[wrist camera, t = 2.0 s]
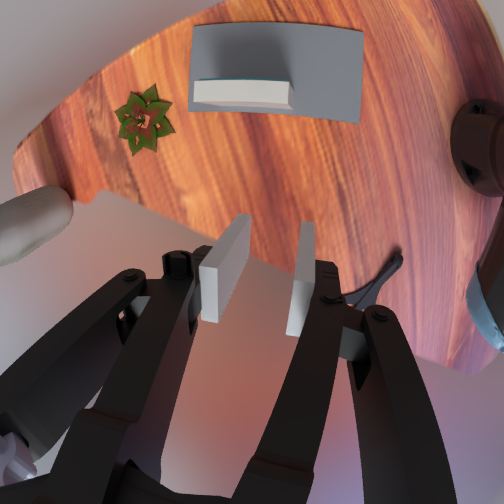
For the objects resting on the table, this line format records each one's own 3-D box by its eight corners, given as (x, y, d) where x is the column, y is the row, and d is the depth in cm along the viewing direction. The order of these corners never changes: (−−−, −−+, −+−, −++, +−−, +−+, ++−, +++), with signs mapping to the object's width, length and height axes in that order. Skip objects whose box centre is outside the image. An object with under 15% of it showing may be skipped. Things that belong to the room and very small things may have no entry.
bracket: (427, 270, 41) (432, 279, 39) (377, 331, 48) (379, 341, 46) (362, 229, 41) (365, 235, 38) (313, 299, 48) (312, 309, 45)
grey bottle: (50, 214, 51) (-46, 272, 26) (54, 172, 46) (-56, 222, 22) (78, 233, 51) (-22, 305, 27) (84, 190, 47) (-34, 253, 22)
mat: (362, 33, 28) (363, 32, 27) (358, 124, 34) (359, 124, 33) (194, 27, 31) (193, 26, 31) (189, 111, 37) (188, 111, 37)
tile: (294, 90, 33) (289, 79, 24) (293, 109, 34) (287, 103, 25) (221, 88, 35) (194, 78, 26) (221, 105, 36) (193, 101, 27)
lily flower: (189, 137, 40) (176, 139, 36) (131, 168, 43) (115, 173, 39) (162, 71, 36) (147, 68, 32) (107, 108, 39) (90, 109, 35)
